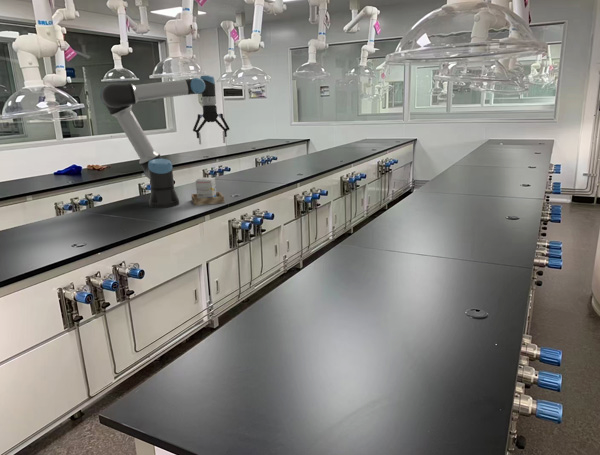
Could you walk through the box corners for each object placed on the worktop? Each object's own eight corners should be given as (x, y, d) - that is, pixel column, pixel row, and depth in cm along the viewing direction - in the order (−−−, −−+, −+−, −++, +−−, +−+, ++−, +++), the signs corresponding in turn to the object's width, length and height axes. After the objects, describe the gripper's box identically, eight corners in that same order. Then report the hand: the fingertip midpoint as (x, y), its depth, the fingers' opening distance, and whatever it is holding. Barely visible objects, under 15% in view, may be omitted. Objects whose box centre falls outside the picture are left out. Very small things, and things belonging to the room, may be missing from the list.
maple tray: (194, 205, 233) (194, 199, 232) (191, 200, 245) (191, 194, 244) (224, 202, 237) (224, 196, 237) (220, 197, 250) (219, 191, 249)
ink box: (217, 198, 245) (215, 177, 241) (213, 201, 237) (211, 179, 233) (201, 198, 245) (199, 177, 242) (197, 201, 237) (195, 180, 234)
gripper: (187, 105, 241) (190, 145, 246) (233, 104, 248) (235, 143, 254) (185, 105, 247) (189, 144, 253) (230, 104, 255) (232, 141, 261)
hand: (212, 143), depth 254 cm, fingers open, 13 cm apart
